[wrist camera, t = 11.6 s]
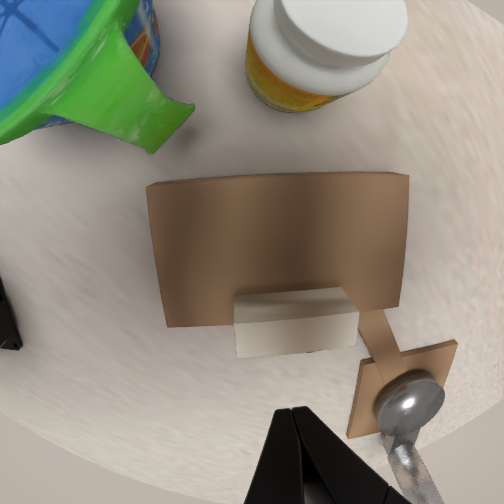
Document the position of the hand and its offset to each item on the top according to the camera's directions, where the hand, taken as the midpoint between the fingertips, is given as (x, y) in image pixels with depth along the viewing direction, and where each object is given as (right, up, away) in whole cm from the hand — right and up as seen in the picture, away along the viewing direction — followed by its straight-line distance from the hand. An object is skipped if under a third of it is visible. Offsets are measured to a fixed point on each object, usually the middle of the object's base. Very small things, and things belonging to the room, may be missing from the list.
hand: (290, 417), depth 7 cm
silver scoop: (+12, -10, +15) cm, 22 cm away
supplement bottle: (+1, +14, +8) cm, 17 cm away
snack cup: (-10, +16, +7) cm, 20 cm away
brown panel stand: (+5, -2, +13) cm, 14 cm away
